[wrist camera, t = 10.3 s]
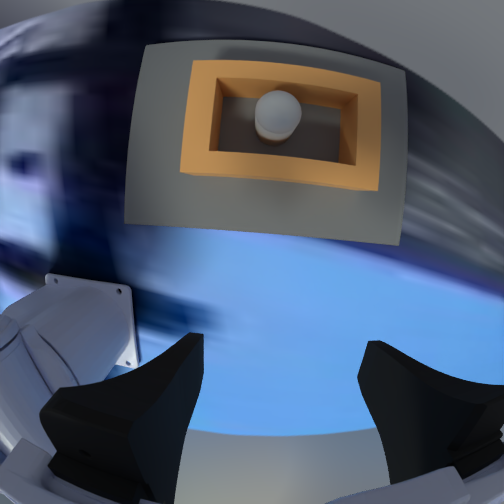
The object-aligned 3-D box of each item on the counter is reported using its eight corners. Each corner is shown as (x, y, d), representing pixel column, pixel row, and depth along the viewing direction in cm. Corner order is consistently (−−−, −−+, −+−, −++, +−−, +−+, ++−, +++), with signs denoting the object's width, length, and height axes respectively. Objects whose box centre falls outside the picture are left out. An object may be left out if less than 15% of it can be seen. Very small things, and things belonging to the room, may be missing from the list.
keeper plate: (129, 222, 19) (85, 235, 13) (150, 50, 16) (118, 13, 10) (392, 243, 19) (438, 263, 13) (399, 74, 16) (439, 46, 10)
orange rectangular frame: (193, 175, 18) (179, 172, 14) (203, 81, 16) (193, 60, 13) (356, 190, 18) (377, 191, 14) (360, 98, 16) (380, 82, 13)
